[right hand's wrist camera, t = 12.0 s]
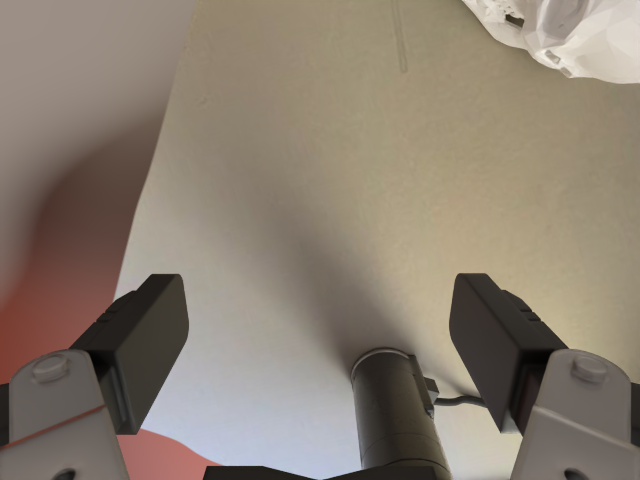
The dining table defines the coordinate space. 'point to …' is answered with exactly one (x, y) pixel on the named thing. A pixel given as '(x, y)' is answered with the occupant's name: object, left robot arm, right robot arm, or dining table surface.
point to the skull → (570, 34)
